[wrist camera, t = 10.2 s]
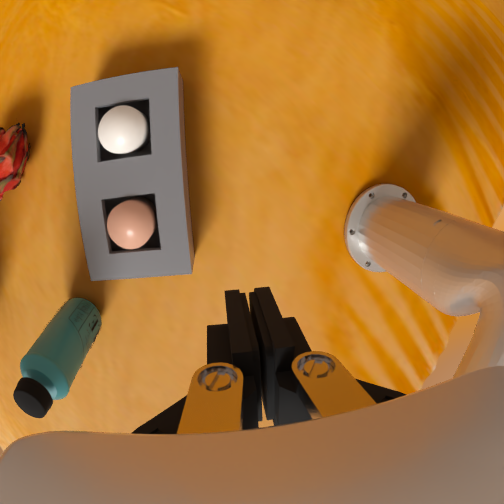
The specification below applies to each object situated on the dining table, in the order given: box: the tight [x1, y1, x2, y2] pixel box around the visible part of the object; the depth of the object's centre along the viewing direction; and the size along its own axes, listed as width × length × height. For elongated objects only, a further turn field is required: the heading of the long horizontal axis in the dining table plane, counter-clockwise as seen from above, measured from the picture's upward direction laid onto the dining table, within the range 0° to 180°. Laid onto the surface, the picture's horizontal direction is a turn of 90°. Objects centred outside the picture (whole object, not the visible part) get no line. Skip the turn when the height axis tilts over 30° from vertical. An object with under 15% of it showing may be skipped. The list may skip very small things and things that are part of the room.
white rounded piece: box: [98, 105, 151, 154], centre depth 29 cm, size 5×5×4 cm
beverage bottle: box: [13, 298, 102, 418], centre depth 30 cm, size 6×7×20 cm
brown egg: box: [107, 197, 158, 249], centre depth 32 cm, size 5×5×4 cm
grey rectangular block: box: [71, 67, 195, 281], centre depth 32 cm, size 12×22×6 cm, turn 2°
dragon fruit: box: [0, 123, 31, 201], centre depth 28 cm, size 8×8×12 cm
